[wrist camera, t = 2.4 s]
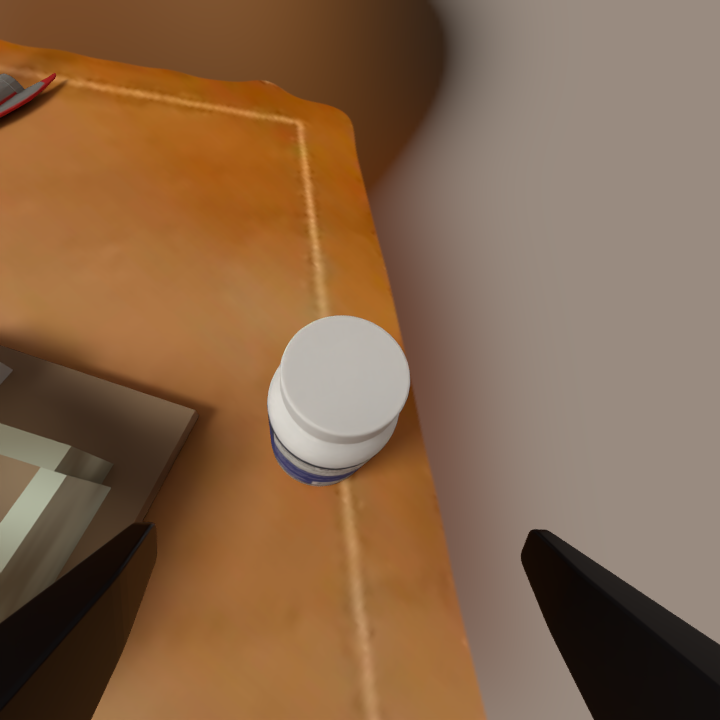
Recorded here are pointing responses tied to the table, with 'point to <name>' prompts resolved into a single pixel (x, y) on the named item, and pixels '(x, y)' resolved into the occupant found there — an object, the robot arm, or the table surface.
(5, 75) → the toy spaceship
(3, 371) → the block
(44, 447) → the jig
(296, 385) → the pill bottle
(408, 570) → the table surface
